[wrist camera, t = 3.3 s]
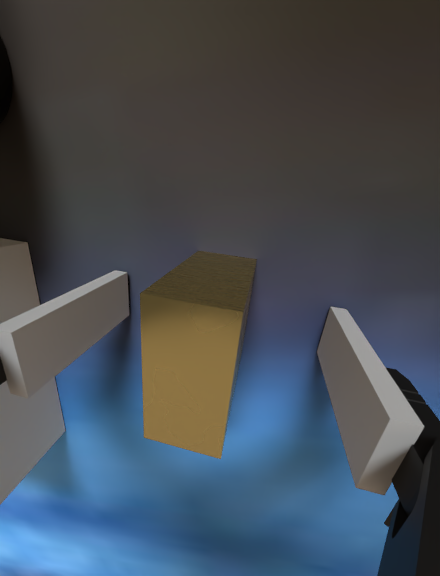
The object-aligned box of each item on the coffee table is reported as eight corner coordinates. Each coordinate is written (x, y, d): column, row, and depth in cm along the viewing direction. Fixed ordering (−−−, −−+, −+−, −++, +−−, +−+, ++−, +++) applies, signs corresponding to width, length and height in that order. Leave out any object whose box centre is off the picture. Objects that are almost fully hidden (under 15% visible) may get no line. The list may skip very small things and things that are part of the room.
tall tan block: (198, 250, 12) (140, 293, 7) (256, 259, 12) (243, 312, 6) (192, 347, 15) (143, 437, 9) (240, 357, 14) (220, 459, 9)
